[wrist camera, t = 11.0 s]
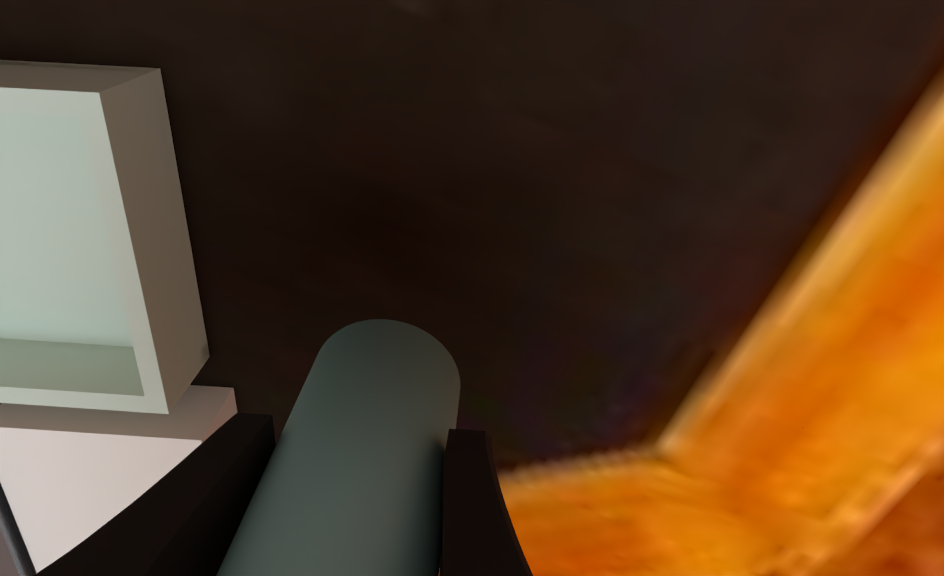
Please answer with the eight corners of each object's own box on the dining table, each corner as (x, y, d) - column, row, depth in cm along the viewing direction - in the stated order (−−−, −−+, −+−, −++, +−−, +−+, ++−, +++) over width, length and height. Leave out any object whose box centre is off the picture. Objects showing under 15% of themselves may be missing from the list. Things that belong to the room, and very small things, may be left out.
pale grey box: (263, 544, 27) (235, 611, 24) (92, 532, 27) (46, 597, 25) (237, 381, 23) (201, 440, 21) (38, 369, 23) (-23, 425, 21)
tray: (209, 356, 22) (168, 414, 20) (-63, 338, 23) (-139, 393, 20) (160, 68, 18) (99, 92, 15) (-176, 50, 18) (-293, 71, 16)
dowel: (457, 444, 14) (404, 938, 7) (318, 434, 14) (133, 913, 7) (463, 324, 13) (404, 794, 6) (308, 313, 13) (70, 766, 6)
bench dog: (80, 541, 27) (33, 608, 24) (31, 538, 27) (-22, 604, 24) (25, 377, 23) (-38, 436, 20) (-32, 374, 23) (-102, 431, 21)
